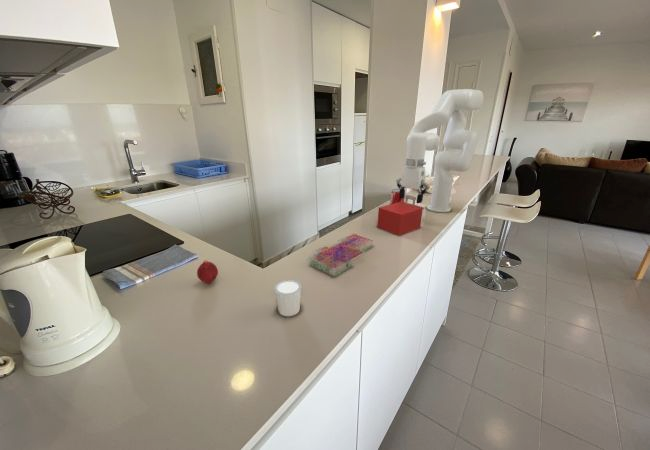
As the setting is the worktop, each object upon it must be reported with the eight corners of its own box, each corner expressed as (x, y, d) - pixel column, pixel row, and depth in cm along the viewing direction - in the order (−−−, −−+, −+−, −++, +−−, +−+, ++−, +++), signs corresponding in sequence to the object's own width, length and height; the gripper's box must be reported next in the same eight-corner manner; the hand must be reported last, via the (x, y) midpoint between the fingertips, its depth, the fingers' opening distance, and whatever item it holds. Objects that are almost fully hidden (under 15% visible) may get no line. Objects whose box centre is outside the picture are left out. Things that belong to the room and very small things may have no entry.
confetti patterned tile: (352, 237, 118) (352, 226, 116) (382, 248, 108) (383, 236, 106) (299, 262, 97) (299, 249, 95) (331, 278, 88) (331, 264, 86)
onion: (223, 279, 87) (219, 257, 84) (210, 289, 82) (206, 265, 79) (208, 276, 89) (204, 254, 86) (194, 285, 84) (190, 262, 81)
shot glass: (291, 321, 69) (290, 298, 67) (270, 311, 73) (268, 289, 70) (307, 306, 75) (306, 284, 72) (287, 298, 78) (286, 276, 75)
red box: (398, 220, 138) (400, 203, 135) (420, 227, 129) (422, 209, 125) (377, 227, 129) (378, 209, 126) (398, 235, 120) (401, 216, 117)
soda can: (401, 212, 149) (404, 188, 145) (403, 216, 143) (406, 192, 138) (388, 211, 150) (390, 188, 145) (389, 216, 143) (391, 191, 139)
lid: (401, 202, 135) (402, 192, 133) (423, 209, 126) (425, 198, 124) (378, 209, 126) (379, 198, 124) (401, 216, 117) (402, 204, 115)
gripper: (437, 164, 118) (431, 203, 124) (403, 160, 131) (400, 195, 137) (427, 166, 114) (421, 206, 120) (393, 161, 126) (390, 197, 132)
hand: (410, 200), depth 128 cm, fingers open, 9 cm apart
